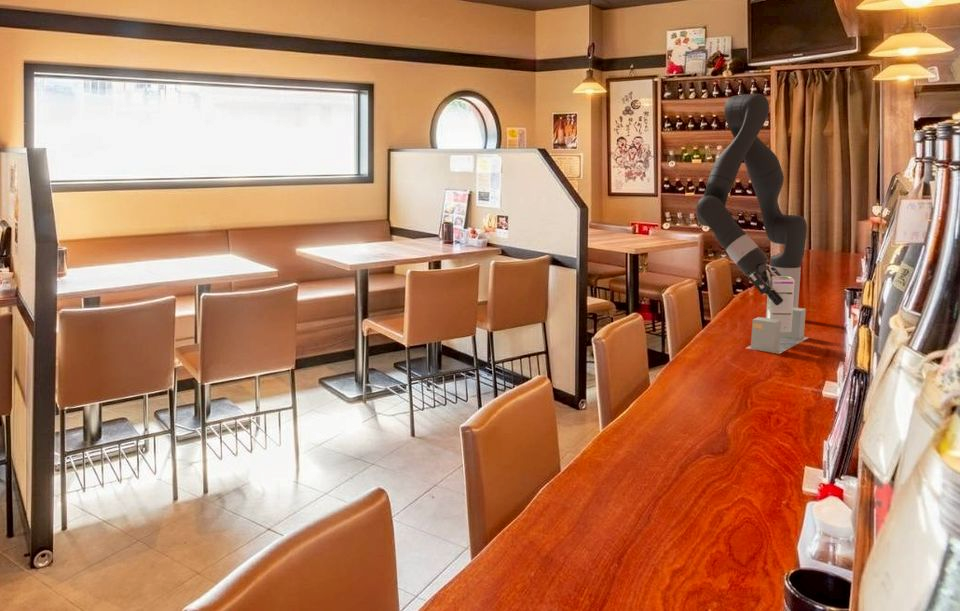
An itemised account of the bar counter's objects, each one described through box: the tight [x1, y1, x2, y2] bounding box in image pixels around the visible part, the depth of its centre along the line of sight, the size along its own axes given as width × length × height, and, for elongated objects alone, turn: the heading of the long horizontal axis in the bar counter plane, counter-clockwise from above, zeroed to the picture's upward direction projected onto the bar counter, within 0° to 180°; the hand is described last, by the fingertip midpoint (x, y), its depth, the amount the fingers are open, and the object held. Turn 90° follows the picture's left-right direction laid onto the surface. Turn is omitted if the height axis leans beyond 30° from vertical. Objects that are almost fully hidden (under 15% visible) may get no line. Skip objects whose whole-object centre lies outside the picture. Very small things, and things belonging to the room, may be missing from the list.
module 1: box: [750, 316, 781, 354], centre depth 197 cm, size 4×6×8 cm
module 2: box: [780, 307, 807, 339], centre depth 211 cm, size 4×6×8 cm
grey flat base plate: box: [745, 336, 810, 355], centre depth 205 cm, size 23×9×1 cm, turn 138°
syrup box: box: [767, 276, 795, 332], centre depth 203 cm, size 6×6×14 cm
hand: (785, 301), depth 202 cm, fingers closed on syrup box, 7 cm apart
